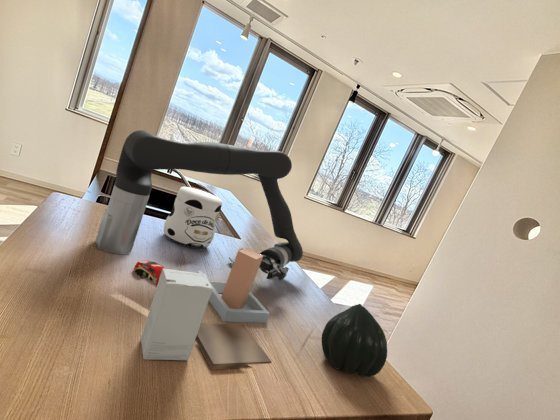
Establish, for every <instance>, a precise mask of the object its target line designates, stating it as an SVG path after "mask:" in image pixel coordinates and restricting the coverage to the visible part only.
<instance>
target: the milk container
mask: <svg viewBox="0 0 560 420" xmlns="http://www.w3.org/2000/svg"><path fill="white" fill-rule="evenodd" d="M222 206H223V199H221V198H220V197H218V196H216V195H215V194H212V193H209V192H207V191H204V190H202V189H197V188H194V187H190V186H180V188H179V190H178V192H177V194H176V197H175V199H174V203H173V206H172V208H171V209H172V210H171V211H170V213H169V214H168V216H167V217H166V218H165V221H164V225H163V233H164V235H165V237H166V238H167V239H169V240H170V241H172V242H174V243H176V244H178V245H181V246H184V247H188V248H192V249H204V248H207V247H209V246H210V244H212V241H213V240H214V237H215V231H216V230H215V228H216V225H217V224H216V223H217V220H218V217H219V215H220V211H221V210H222Z"/></svg>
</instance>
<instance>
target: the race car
mask: <svg viewBox="0 0 560 420" xmlns="http://www.w3.org/2000/svg"><path fill="white" fill-rule="evenodd" d="M163 268H164V269H166V267H165V266H163V265H162V264H160V263H158V262H155V261H151V260H147V259H146V260H145V259H144V260H138V261H137V262H136V264H134V268H133V271H134V272H135V274H136V275H138V277H140V278H142V279H143V280H144V279H149V280H150V281H151V282H152V283H154V284H155V285H158V282H159V278H160V275H161V272H162V269H163Z"/></svg>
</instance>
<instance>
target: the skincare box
mask: <svg viewBox="0 0 560 420" xmlns="http://www.w3.org/2000/svg"><path fill="white" fill-rule="evenodd" d="M164 268H165V267H164ZM164 268H163V269H162V272H161V275H160V278H159V282H158V285H157V284H156V285H157V286H156V288H155V292H154V295H153V299H152V301H151V304H150V308H149V311H148V314H147V318H146V321H145V324H144V327H143V328H144V329H143V331H142V334H141V338H140V343H141V352H142V359H143V360H149V361H150V360H155V361H156V360H158V361H160V360H161V361H162V360H163V361H189V359H190V357H191V354H192V351H193V347H194V344H195V342H196V340H195V339H196V336H197V333H198V330H199V327H200V324H201V323H203V322H202V321H203V319H204V316H205V312H206V310H207V307H208V304H209V302H210V301H209V298H210V296H211V293H212V290H213V288H212V287H211V285H210V283H209V281H210V280H209V279H208V277H207V275H206V273H203V274H202V273H197V272H192V271H185V270H184V271H183V270H177V269H171V268H169V269H168V268H165V269H164ZM208 280H209V281H208Z"/></svg>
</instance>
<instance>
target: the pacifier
mask: <svg viewBox="0 0 560 420" xmlns="http://www.w3.org/2000/svg"><path fill="white" fill-rule="evenodd" d="M242 249H244V248H239V249H238V250H237V253H238V251H239V250H242ZM237 253H236V254H237ZM228 259H229V260H230V261H231V262H232V263H231V264H230V266H231V267H232V266H233V264H234V261H235V259H233V258H232V257H228Z"/></svg>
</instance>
